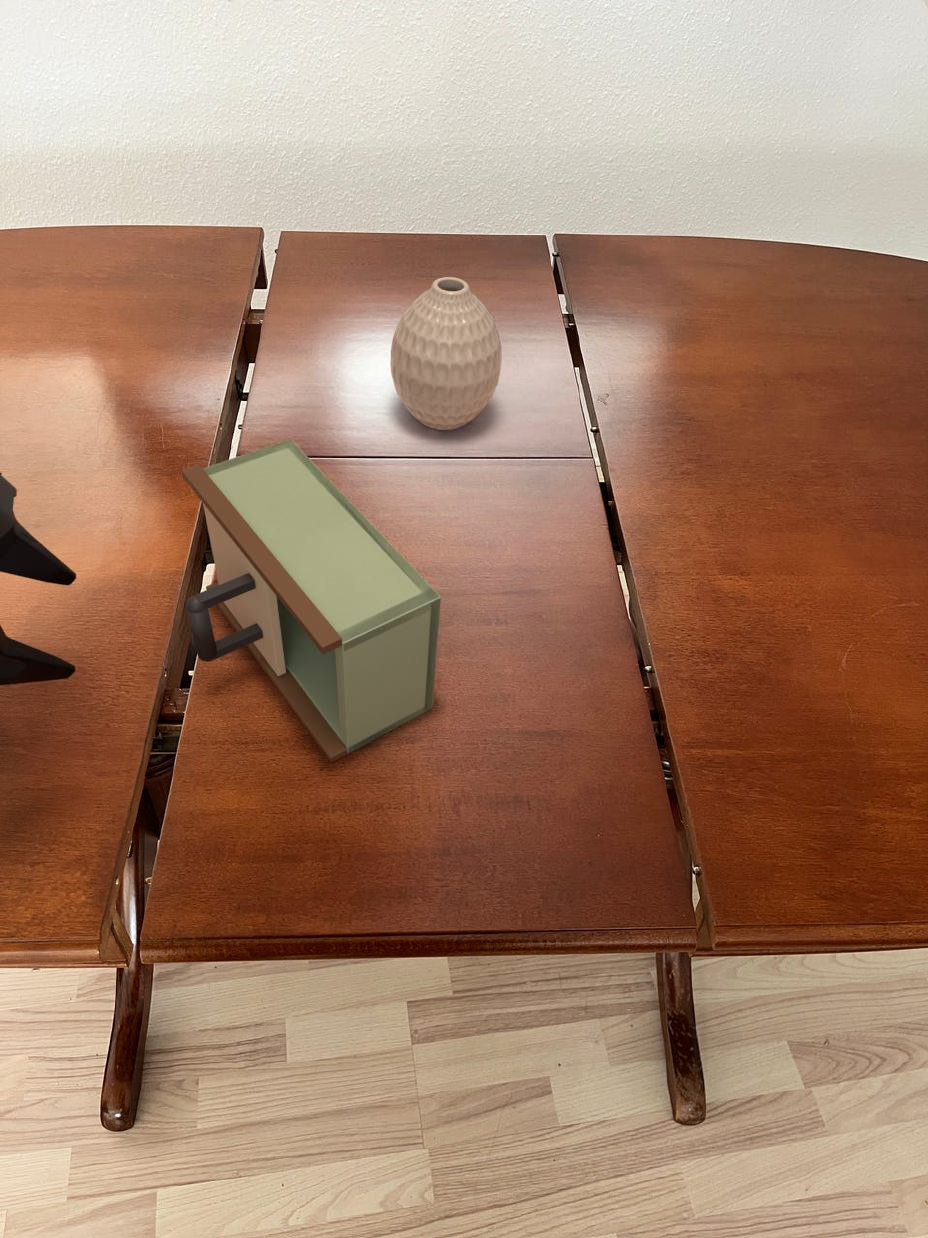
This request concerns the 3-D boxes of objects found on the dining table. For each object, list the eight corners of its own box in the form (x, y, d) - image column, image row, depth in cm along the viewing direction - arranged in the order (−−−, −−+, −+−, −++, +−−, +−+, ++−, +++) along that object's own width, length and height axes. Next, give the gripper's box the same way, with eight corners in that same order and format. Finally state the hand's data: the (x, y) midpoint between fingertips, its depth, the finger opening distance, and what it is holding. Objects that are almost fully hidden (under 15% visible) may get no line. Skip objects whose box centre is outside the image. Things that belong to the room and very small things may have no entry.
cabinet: (330, 763, 70) (322, 647, 59) (206, 592, 82) (180, 469, 71) (432, 708, 75) (441, 591, 64) (301, 553, 87) (290, 432, 76)
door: (218, 705, 72) (194, 603, 63) (164, 623, 78) (135, 519, 68) (286, 672, 75) (273, 571, 66) (229, 596, 80) (210, 492, 71)
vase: (486, 454, 100) (501, 321, 88) (378, 437, 101) (378, 303, 88) (501, 395, 109) (516, 266, 96) (402, 379, 109) (405, 250, 97)
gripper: (-134, 551, 42) (145, 656, 53) (-86, 353, 54) (134, 472, 65) (-234, 679, 46) (45, 753, 57) (-169, 468, 58) (52, 562, 69)
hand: (72, 624), depth 62 cm, fingers open, 9 cm apart
